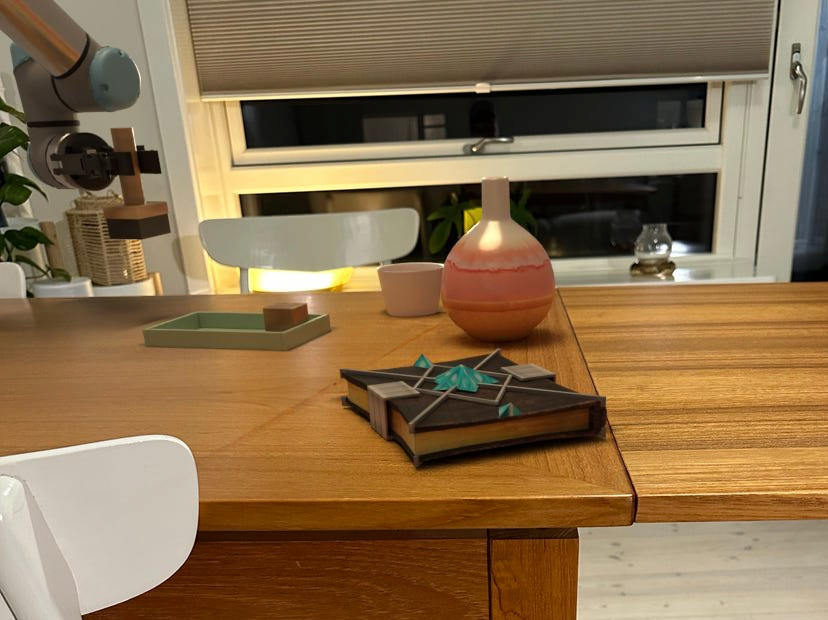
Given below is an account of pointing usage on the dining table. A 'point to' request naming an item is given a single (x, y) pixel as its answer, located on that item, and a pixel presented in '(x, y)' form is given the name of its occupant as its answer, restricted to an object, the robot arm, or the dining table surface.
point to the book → (471, 405)
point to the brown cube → (284, 316)
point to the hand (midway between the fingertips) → (143, 163)
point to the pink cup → (411, 288)
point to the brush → (134, 200)
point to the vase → (497, 274)
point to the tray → (232, 332)
